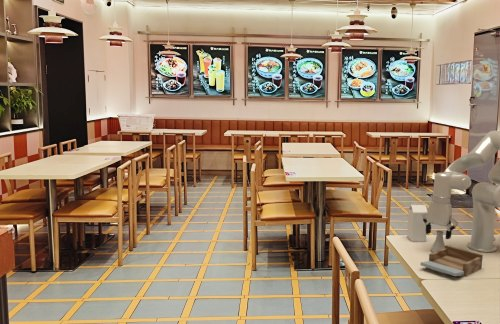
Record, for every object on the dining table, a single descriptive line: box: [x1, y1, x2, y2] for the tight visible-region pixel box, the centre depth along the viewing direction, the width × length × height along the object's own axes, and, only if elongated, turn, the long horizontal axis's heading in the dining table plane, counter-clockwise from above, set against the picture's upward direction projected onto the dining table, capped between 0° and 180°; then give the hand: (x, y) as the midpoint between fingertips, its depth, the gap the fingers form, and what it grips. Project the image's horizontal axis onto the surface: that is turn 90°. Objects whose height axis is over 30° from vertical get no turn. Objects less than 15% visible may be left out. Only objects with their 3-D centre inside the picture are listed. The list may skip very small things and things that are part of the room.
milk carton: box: [406, 202, 428, 242], centre depth 235 cm, size 7×7×19 cm
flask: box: [430, 230, 446, 253], centre depth 217 cm, size 7×7×10 cm
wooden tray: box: [428, 244, 483, 277], centre depth 199 cm, size 14×16×6 cm
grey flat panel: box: [420, 260, 464, 277], centre depth 192 cm, size 2×15×7 cm
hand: (437, 236), depth 216 cm, fingers open, 9 cm apart
